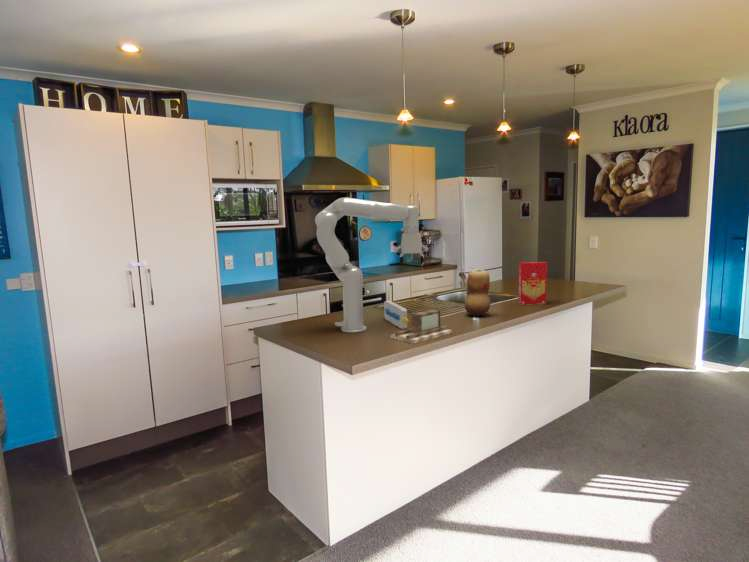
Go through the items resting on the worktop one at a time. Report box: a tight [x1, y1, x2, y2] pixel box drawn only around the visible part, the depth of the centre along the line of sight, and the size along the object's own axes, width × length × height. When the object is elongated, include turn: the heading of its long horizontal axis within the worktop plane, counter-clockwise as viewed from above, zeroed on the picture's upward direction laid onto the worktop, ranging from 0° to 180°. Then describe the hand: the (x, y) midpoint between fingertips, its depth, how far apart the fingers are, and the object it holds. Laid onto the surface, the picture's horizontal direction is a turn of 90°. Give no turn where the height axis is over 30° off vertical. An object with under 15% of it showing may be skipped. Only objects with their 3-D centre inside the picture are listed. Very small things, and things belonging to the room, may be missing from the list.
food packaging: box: [518, 261, 548, 304], centre depth 283 cm, size 15×5×25 cm, turn 88°
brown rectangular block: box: [411, 309, 441, 334], centre depth 222 cm, size 14×5×9 cm, turn 128°
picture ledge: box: [390, 325, 454, 345], centre depth 220 cm, size 26×14×3 cm, turn 129°
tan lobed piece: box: [464, 268, 491, 317], centre depth 257 cm, size 14×13×25 cm
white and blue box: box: [383, 300, 409, 330], centre depth 243 cm, size 32×4×10 cm, turn 17°
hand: (411, 264), depth 241 cm, fingers open, 9 cm apart
